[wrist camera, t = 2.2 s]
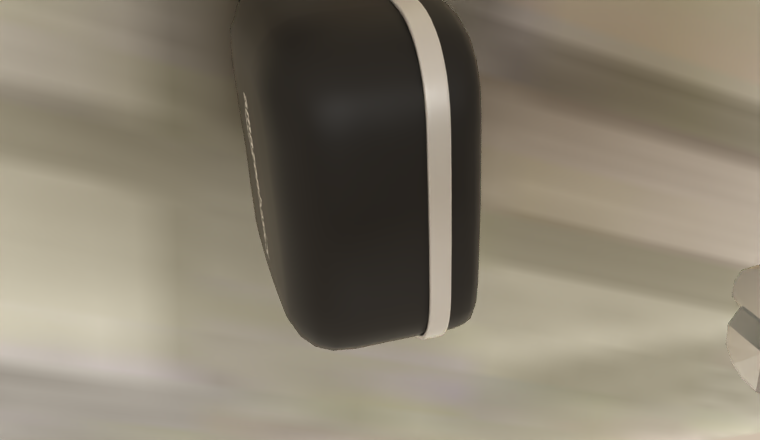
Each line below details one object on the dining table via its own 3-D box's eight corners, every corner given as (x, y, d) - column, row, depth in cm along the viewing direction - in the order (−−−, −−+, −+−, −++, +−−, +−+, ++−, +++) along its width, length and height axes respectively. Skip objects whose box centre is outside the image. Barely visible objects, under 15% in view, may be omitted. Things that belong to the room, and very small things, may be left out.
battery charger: (203, -61, 20) (243, 39, 10) (338, -73, 21) (493, 11, 11) (238, 168, 23) (295, 408, 14) (354, 151, 24) (484, 366, 14)
